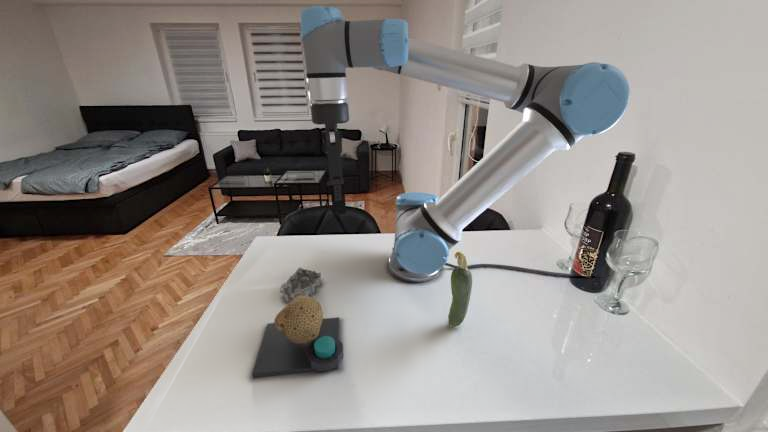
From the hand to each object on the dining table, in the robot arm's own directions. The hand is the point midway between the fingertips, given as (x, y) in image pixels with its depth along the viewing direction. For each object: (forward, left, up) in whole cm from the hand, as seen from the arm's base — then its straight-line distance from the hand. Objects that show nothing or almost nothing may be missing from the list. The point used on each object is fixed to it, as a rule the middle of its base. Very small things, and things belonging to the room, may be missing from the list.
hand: (338, 202), depth 69 cm
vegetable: (-25, +15, -26) cm, 39 cm away
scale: (+9, +16, -26) cm, 32 cm away
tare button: (+4, +20, -23) cm, 31 cm away
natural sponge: (+12, +14, -24) cm, 30 cm away
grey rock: (+11, -3, -26) cm, 29 cm away
